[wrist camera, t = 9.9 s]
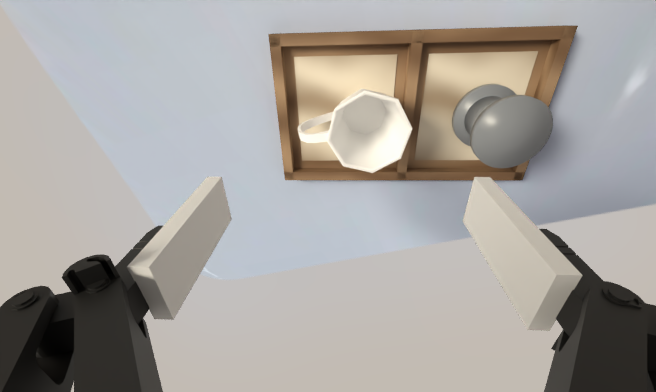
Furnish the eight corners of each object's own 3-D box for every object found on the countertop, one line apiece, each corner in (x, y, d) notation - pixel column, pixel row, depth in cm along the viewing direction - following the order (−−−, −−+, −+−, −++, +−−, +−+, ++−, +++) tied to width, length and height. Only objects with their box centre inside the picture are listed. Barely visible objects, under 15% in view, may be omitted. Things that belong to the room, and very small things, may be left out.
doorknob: (458, 84, 29) (483, 97, 24) (525, 82, 28) (565, 96, 23) (446, 145, 32) (466, 168, 27) (506, 144, 32) (537, 168, 26)
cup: (398, 136, 32) (413, 168, 25) (309, 149, 33) (300, 182, 26) (395, 68, 28) (411, 83, 21) (296, 85, 30) (281, 104, 23)
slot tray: (272, 33, 28) (268, 34, 26) (564, 25, 26) (577, 25, 25) (287, 173, 36) (285, 179, 34) (514, 173, 34) (522, 180, 32)
